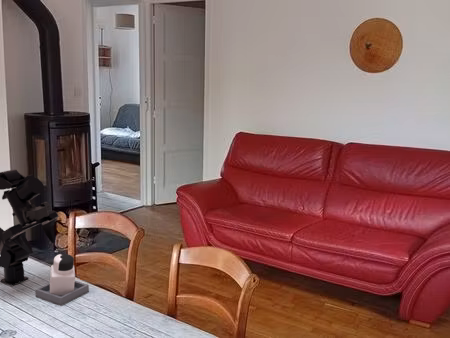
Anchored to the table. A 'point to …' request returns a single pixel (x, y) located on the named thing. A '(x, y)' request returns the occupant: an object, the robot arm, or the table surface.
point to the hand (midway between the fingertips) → (43, 248)
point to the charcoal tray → (61, 300)
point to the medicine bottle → (62, 275)
